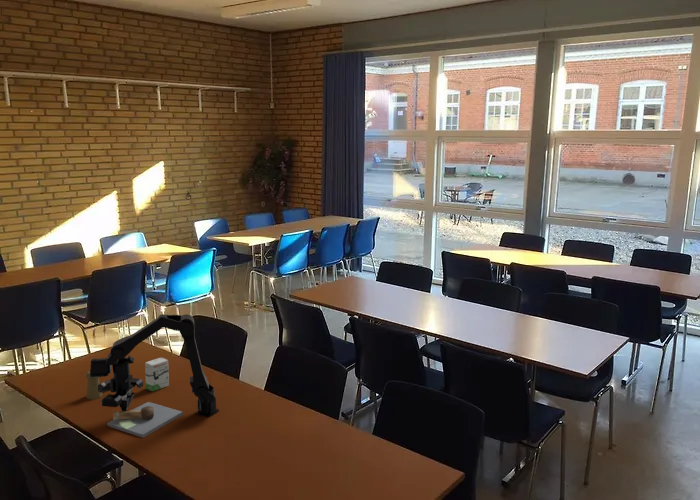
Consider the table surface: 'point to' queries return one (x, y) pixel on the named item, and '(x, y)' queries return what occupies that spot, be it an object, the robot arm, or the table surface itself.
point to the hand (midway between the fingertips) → (124, 413)
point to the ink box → (156, 374)
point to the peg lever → (135, 413)
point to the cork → (92, 387)
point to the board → (146, 420)
